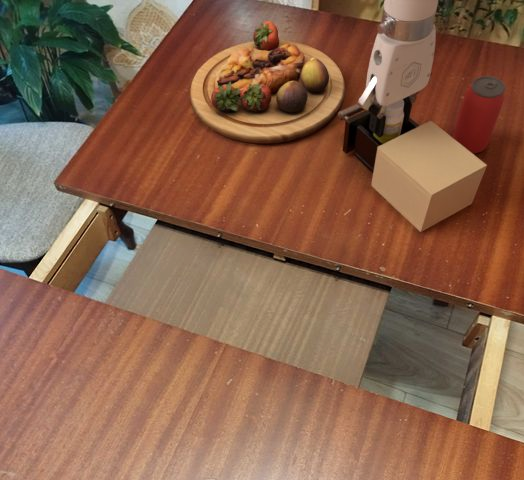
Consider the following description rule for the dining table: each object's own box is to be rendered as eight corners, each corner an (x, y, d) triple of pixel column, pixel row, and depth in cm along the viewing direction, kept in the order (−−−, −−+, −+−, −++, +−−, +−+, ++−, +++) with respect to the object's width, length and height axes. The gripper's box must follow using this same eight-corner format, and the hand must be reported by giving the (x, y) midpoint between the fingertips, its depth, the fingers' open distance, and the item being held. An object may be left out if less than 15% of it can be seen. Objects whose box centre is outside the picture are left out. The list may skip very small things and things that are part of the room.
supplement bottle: (380, 131, 100) (387, 89, 93) (403, 140, 99) (411, 98, 91) (367, 146, 98) (373, 104, 91) (390, 155, 97) (398, 114, 89)
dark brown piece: (328, 137, 104) (330, 105, 98) (371, 116, 106) (375, 84, 101) (384, 189, 96) (390, 159, 91) (429, 166, 99) (438, 135, 93)
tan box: (371, 185, 98) (377, 146, 91) (420, 160, 101) (430, 120, 94) (420, 232, 92) (431, 194, 85) (471, 203, 95) (487, 165, 88)
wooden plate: (218, 41, 123) (214, 3, 116) (357, 58, 118) (362, 19, 110) (169, 133, 108) (160, 96, 101) (325, 157, 103) (328, 120, 95)
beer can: (494, 146, 102) (517, 87, 92) (468, 160, 100) (488, 103, 90) (468, 127, 105) (488, 69, 94) (443, 141, 103) (460, 83, 93)
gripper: (377, 53, 76) (362, 157, 92) (469, 12, 80) (439, 119, 96) (345, 28, 79) (336, 133, 95) (434, -10, 83) (411, 97, 99)
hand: (388, 125), depth 95 cm, fingers closed on supplement bottle, 4 cm apart
